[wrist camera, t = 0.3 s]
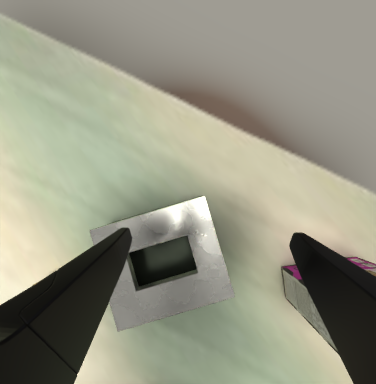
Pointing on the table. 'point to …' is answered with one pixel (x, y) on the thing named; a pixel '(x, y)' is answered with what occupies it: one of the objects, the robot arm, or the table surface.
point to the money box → (177, 285)
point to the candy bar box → (303, 301)
